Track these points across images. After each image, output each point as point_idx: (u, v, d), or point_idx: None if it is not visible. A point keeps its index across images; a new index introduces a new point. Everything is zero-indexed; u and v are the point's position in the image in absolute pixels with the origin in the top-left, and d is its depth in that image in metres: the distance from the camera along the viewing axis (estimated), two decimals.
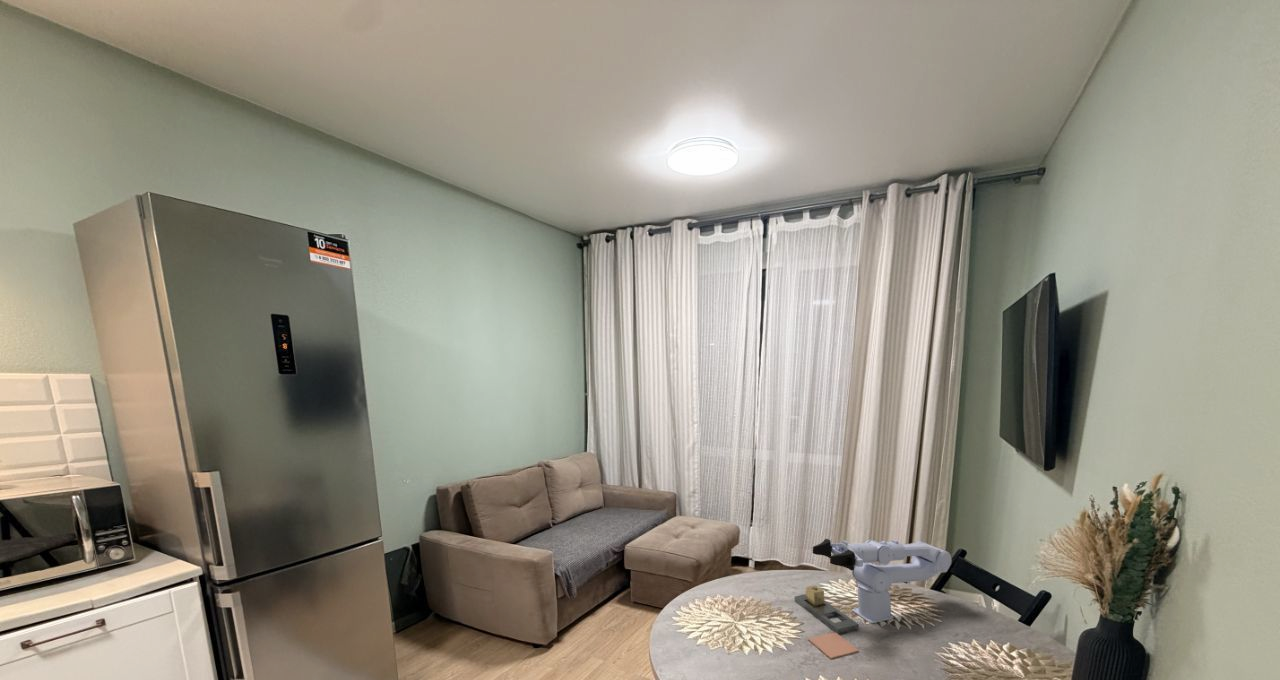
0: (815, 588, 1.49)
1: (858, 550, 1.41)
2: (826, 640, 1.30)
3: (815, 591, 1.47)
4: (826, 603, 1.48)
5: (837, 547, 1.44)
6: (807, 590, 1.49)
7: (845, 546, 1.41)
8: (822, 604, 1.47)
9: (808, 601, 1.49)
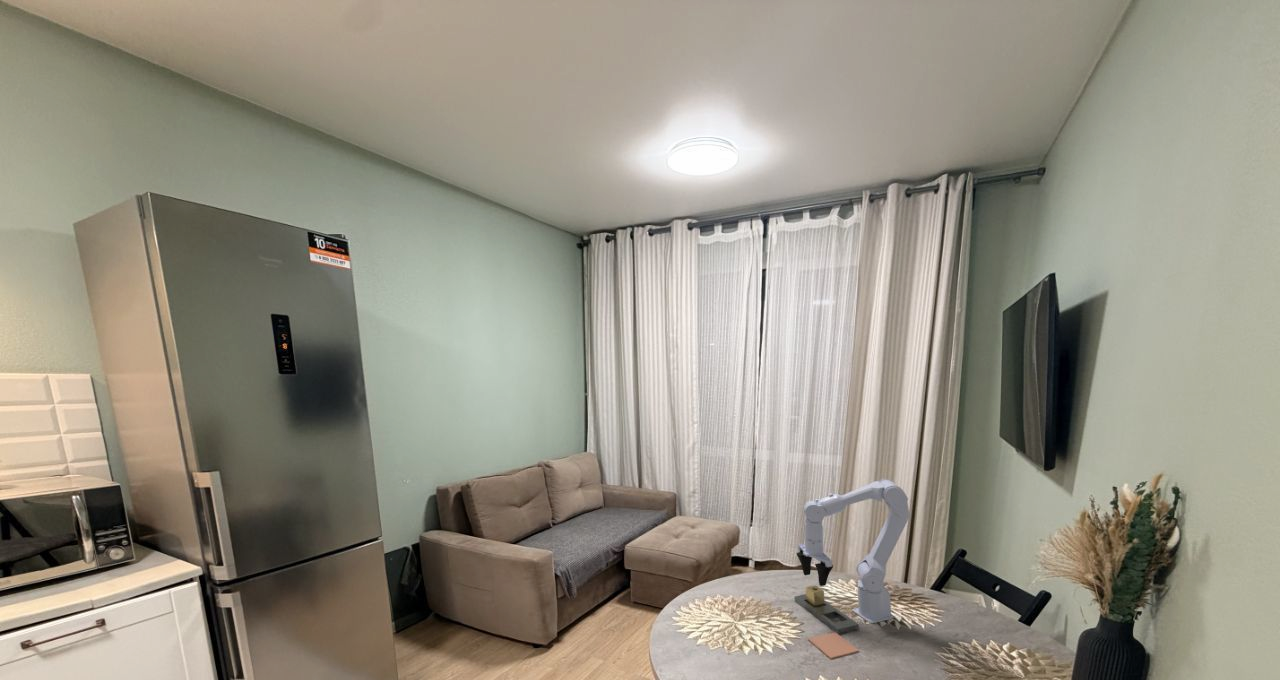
0: (815, 588, 1.49)
1: (814, 545, 1.47)
2: (826, 640, 1.30)
3: (815, 591, 1.47)
4: (826, 603, 1.48)
5: None
6: (807, 590, 1.49)
7: None
8: (822, 604, 1.47)
9: (808, 601, 1.49)
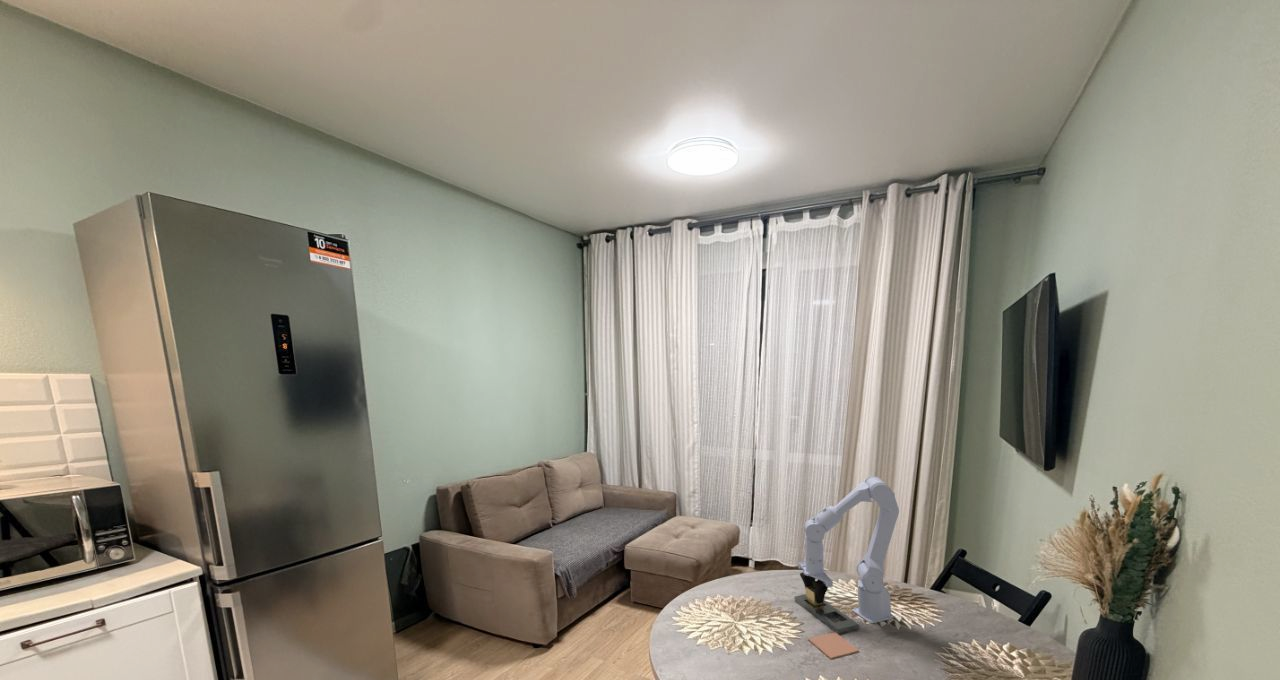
0: None
1: (814, 565, 1.47)
2: (826, 640, 1.30)
3: None
4: (826, 603, 1.48)
5: None
6: (807, 590, 1.49)
7: None
8: (822, 604, 1.47)
9: (808, 601, 1.49)
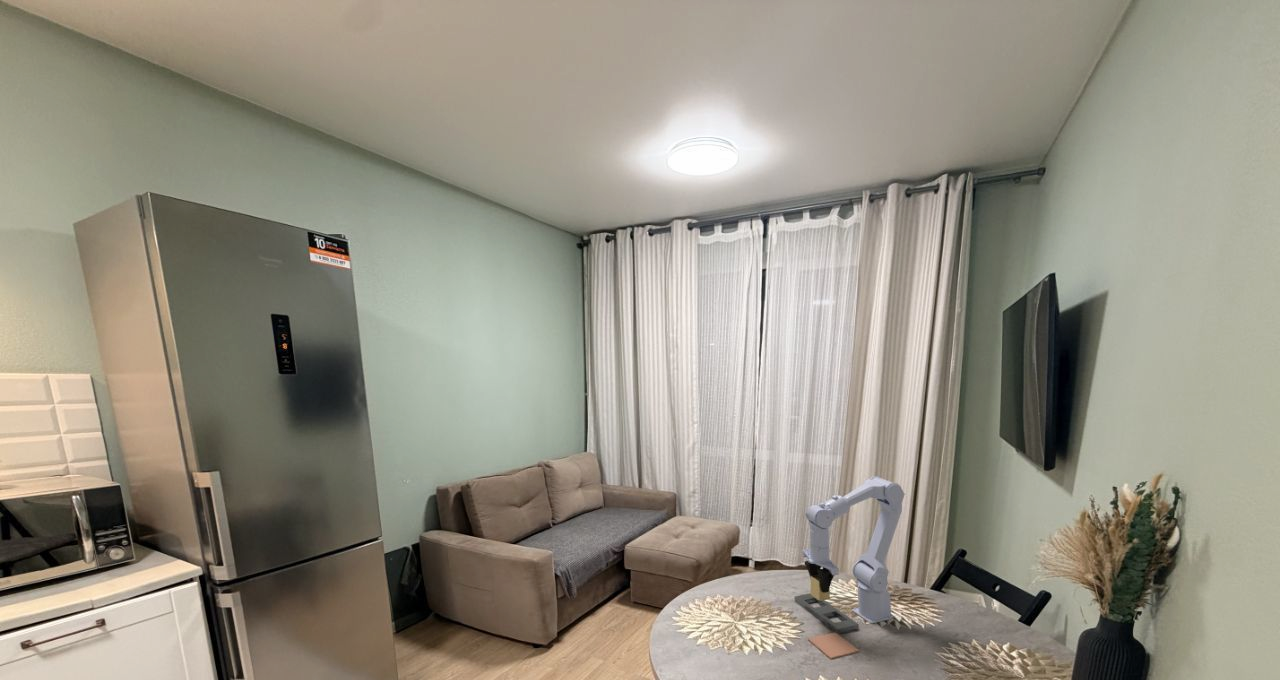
0: None
1: (819, 552, 1.40)
2: (826, 640, 1.30)
3: None
4: (826, 603, 1.48)
5: None
6: (812, 579, 1.42)
7: None
8: (827, 593, 1.40)
9: (813, 590, 1.42)
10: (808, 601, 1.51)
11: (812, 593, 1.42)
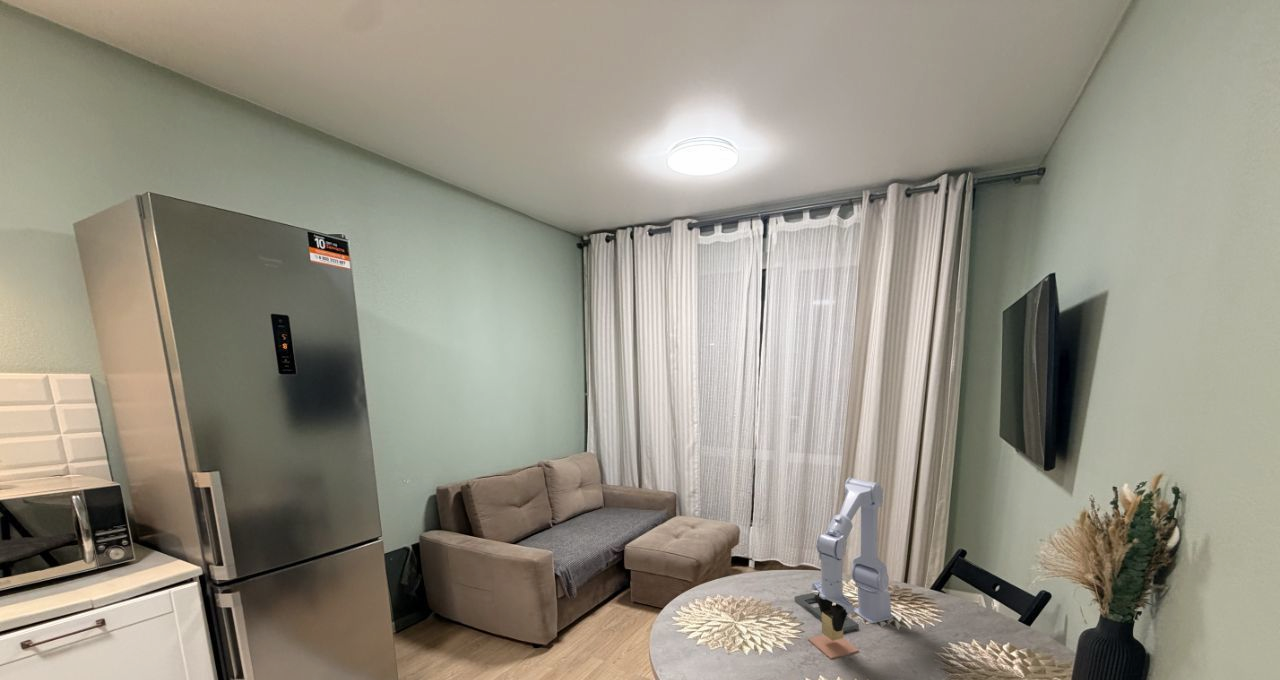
0: None
1: (832, 586, 1.26)
2: (826, 640, 1.30)
3: None
4: None
5: None
6: (823, 615, 1.29)
7: None
8: (841, 632, 1.27)
9: (824, 628, 1.28)
10: (808, 601, 1.51)
11: (823, 631, 1.29)
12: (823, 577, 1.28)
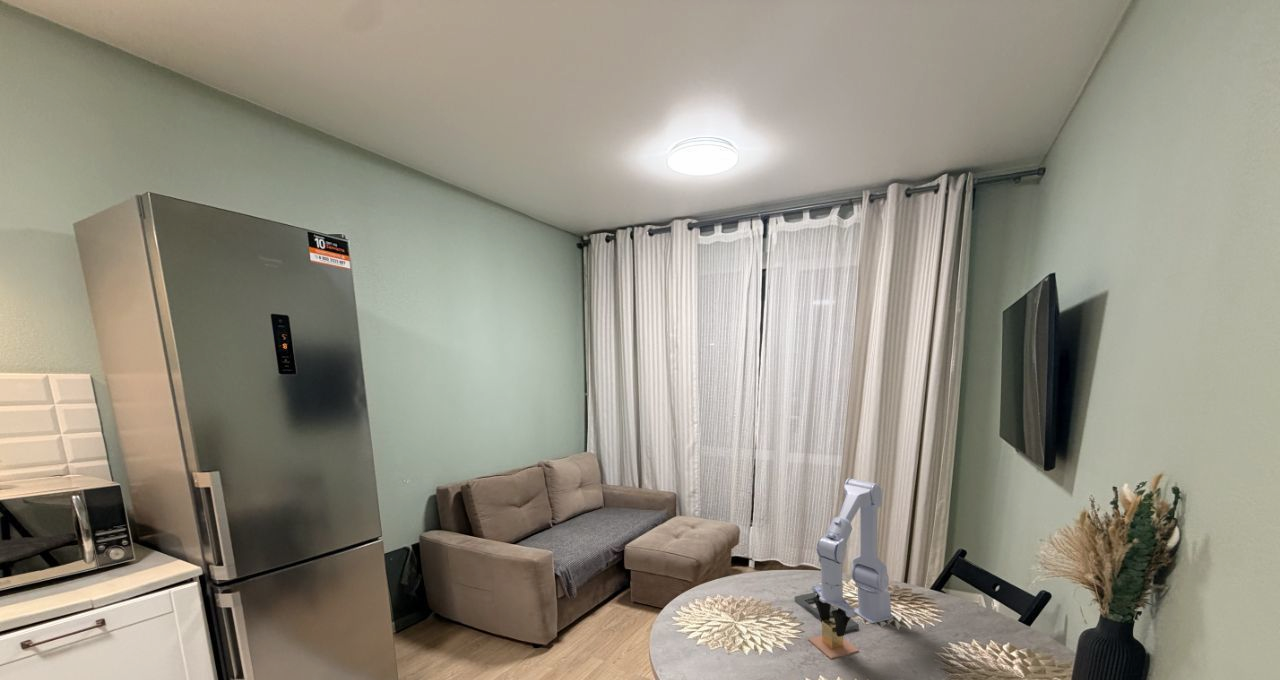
0: (832, 622, 1.29)
1: (832, 590, 1.26)
2: None
3: (833, 626, 1.27)
4: None
5: None
6: (823, 624, 1.29)
7: None
8: (841, 641, 1.27)
9: (824, 637, 1.28)
10: (808, 601, 1.51)
11: (824, 640, 1.28)
12: (823, 580, 1.28)
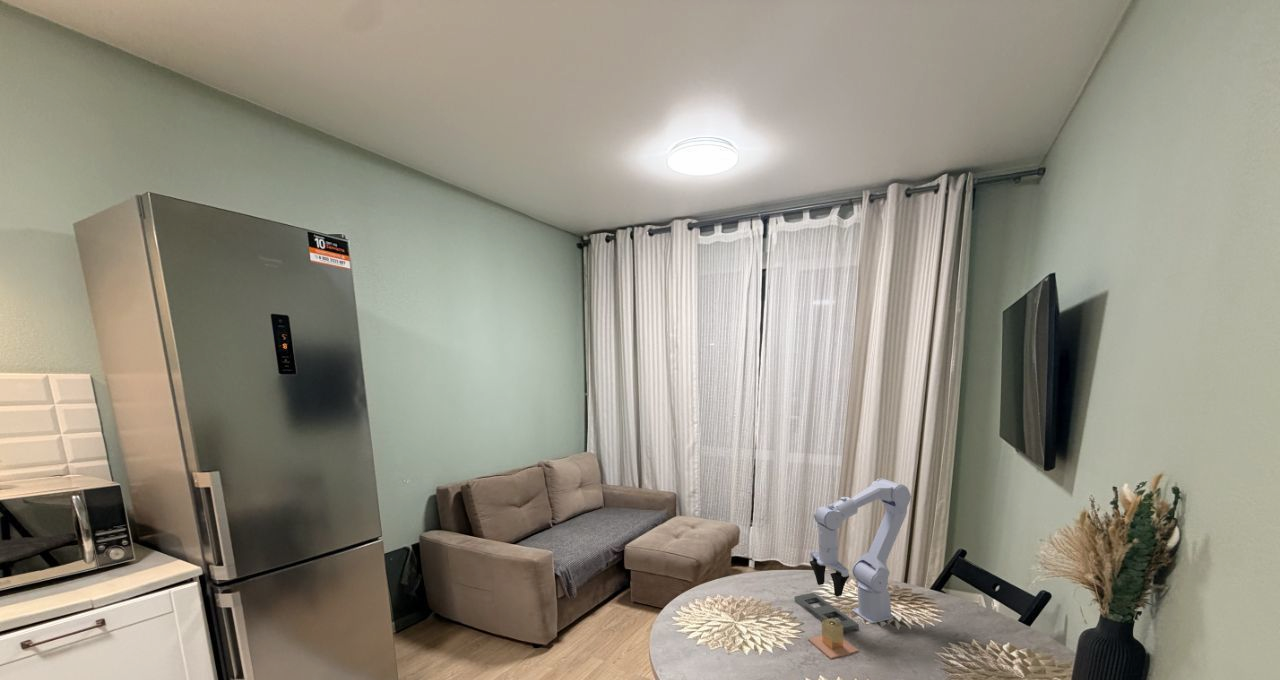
0: (832, 622, 1.29)
1: (829, 553, 1.40)
2: None
3: (833, 626, 1.27)
4: (826, 603, 1.48)
5: None
6: (823, 624, 1.29)
7: None
8: (841, 641, 1.27)
9: (824, 637, 1.28)
10: (808, 601, 1.51)
11: (824, 640, 1.28)
12: None
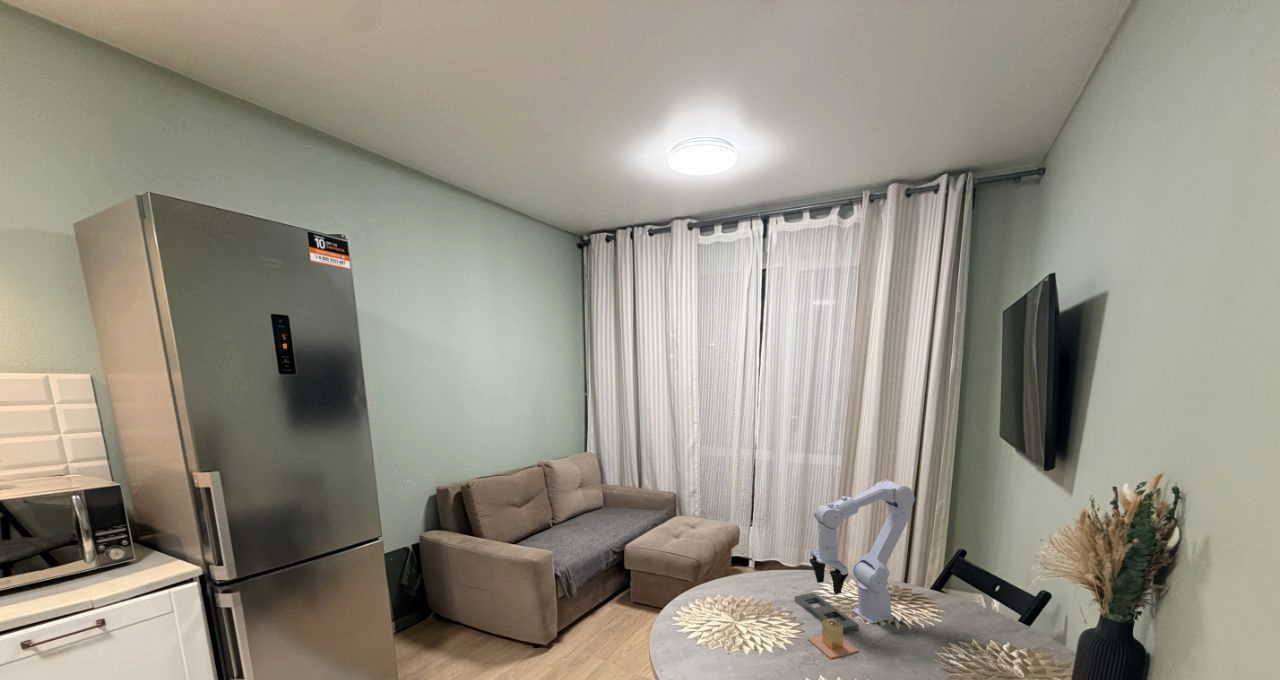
0: (832, 622, 1.29)
1: (828, 551, 1.41)
2: None
3: (833, 626, 1.27)
4: (826, 603, 1.48)
5: None
6: (823, 624, 1.29)
7: None
8: (841, 641, 1.27)
9: (824, 637, 1.28)
10: (808, 601, 1.51)
11: (824, 640, 1.28)
12: (818, 542, 1.44)
